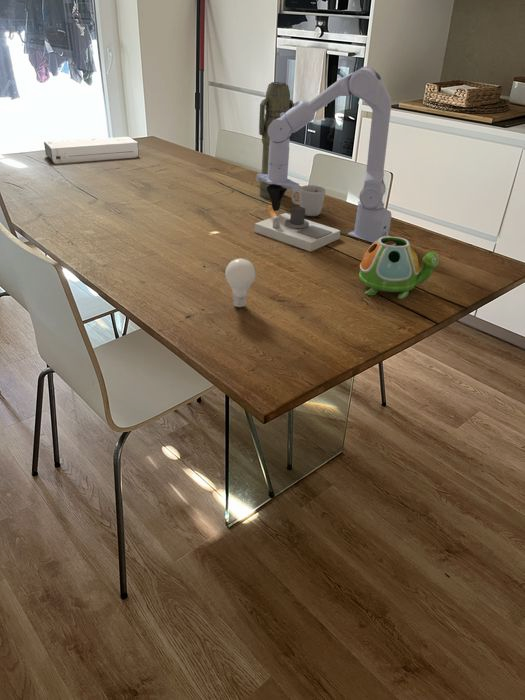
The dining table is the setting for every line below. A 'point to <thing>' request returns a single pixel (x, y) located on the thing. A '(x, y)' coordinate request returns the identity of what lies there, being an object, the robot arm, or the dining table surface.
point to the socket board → (298, 233)
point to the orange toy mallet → (274, 217)
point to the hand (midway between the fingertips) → (275, 210)
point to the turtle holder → (394, 267)
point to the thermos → (274, 106)
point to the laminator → (91, 149)
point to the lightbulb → (240, 279)
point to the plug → (297, 218)
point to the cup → (310, 199)
